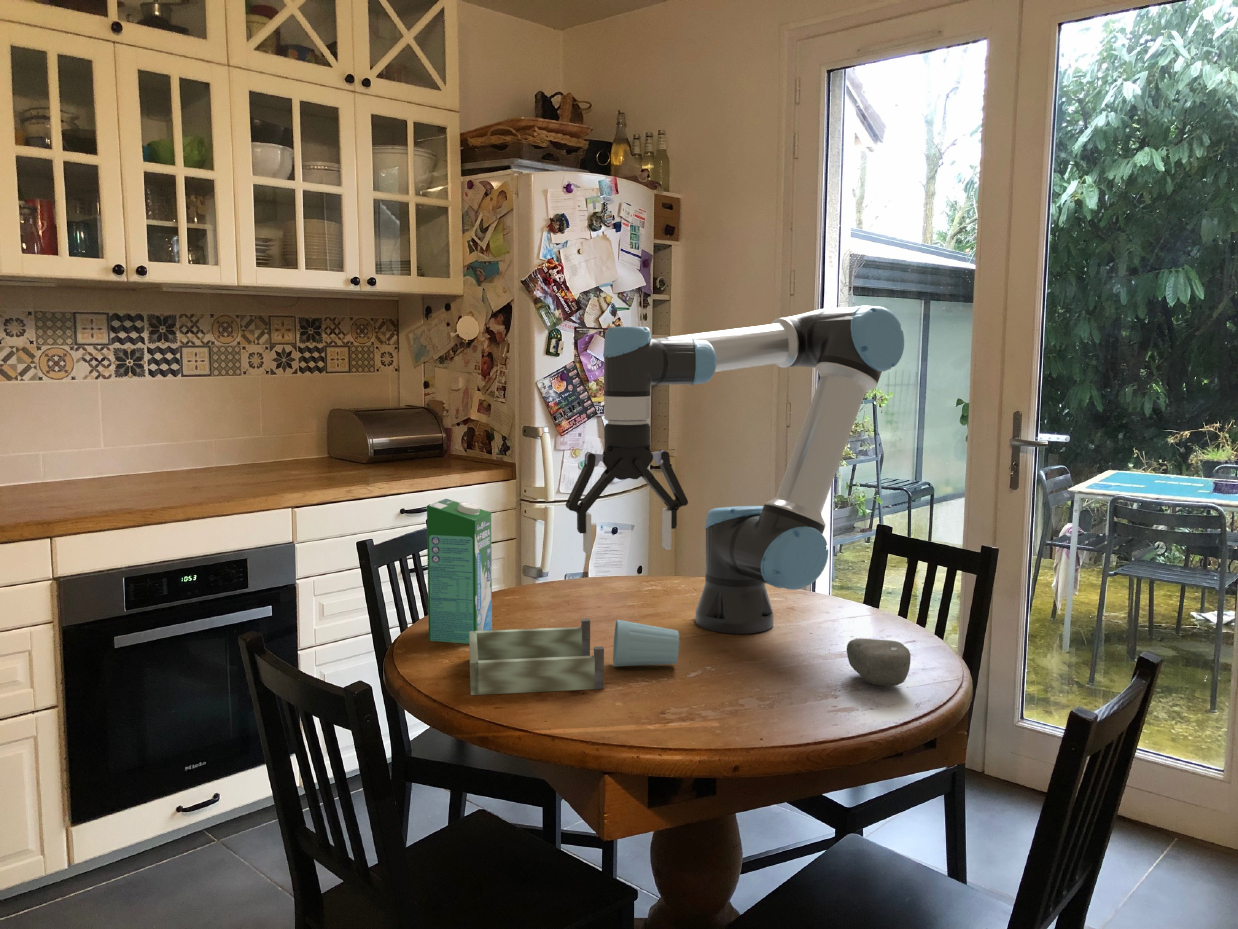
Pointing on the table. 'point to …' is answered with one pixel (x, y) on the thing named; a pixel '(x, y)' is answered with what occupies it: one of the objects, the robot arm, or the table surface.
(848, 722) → the table surface
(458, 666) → the table surface
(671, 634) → the cup
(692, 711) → the table surface
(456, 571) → the milk carton
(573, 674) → the bay
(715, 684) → the table surface
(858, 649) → the stone
